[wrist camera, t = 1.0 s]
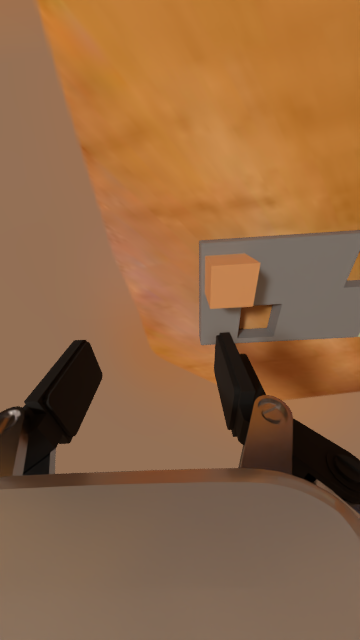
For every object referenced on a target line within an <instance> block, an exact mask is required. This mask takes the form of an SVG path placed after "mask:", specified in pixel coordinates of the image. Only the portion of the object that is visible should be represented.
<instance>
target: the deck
mask: <svg viewBox="0 0 360 640" xmlns="http://www.w3.org/2000/svg"><path fill="white" fill-rule="evenodd" d="M359 251H360V230H355V231H340V232H324V233H309V234H294V235H279V236H263V237H248V238H233V239H218V240H202V241H199V336H200V342H201V345H211V344H216V335H219V333H223V332H230V334H231V336H232V339H233V341H234V343H249V342H269V341H288V340H307V339H326V338H345V337H360V280H353V281H347V278H348V276H349V274H350V272H351V269H352V267H353V265H354V262H355V260H356V258H357V256H358V253H359ZM243 253H245V254H247V255H248V256H250V257H252V258H253V259H255V260H257V261H258V262H260V269H259V275H258V281H257V286H256V292H255V298H254V304H253V305H270V304H273V305H272V310H271V314H270V318H269V322H268V327H267V328H260V329H241V330H238V329H239V321H240V314H241V307H236V308H218V309H210V307H209V304H208V301H207V298H206V295H205V256H211V255H227V254H243Z"/></svg>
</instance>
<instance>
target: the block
mask: <svg viewBox="0 0 360 640" xmlns="http://www.w3.org/2000/svg"><path fill="white" fill-rule="evenodd" d="M259 269H260V262H258V261H257V260H255V259H253V258H252V257H250V256H248V255H247V254H245V253H243V254H227V255H211V256H205V295H206V298H207V301H208V304H209V307H210V309H218V308H236V307H253V304H254V298H255V292H256V286H257V281H258V275H259Z"/></svg>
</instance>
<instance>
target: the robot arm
mask: <svg viewBox="0 0 360 640" xmlns="http://www.w3.org/2000/svg"><path fill="white" fill-rule="evenodd" d="M214 372H215V377H216V381H217V386H218V390H219V394H220V399H221V403H222V407H223V411H224V416H225V420H226V425H227V428H228V430H232V434H233V437H238V441H239V442H240V443H241V444H243V449H242V454H241V458H240V463H239V467H238V468H228V469H227V468H226V469H181V470H150V471H121V472H97V473H96V472H94V473H71V474H55V454H56V447H57V445H58V443H59V444H66V443H70V442H71V440H72V437H73V436H75V435H76V434H77V432H78V430H79V428H80V425H81V423H82V421H83V419H84V417H85V415H86V412H87V410H88V408H89V406H90V404H91V401H92V399H93V397H94V395H95V393H96V391H97V388H98V386H99V384H100V382H101V380H102V372H101V369H100V367H99V365H98V362H97V360H96V357H95V355H94V352H93V350H92V347H91V345H90V343H89V342H87V341H86V340H75V341H73V343H72V344H71V345H70V346H69V348H68V349H67V350H66V351H65V352H64V354H63V355H62V356H61V357H60V358H59V360H58V361H57V362H56V363H55V365H54V366H53V367H52V368H51V369H50V371H49V372H48V373H47V375H46V376H45V377H44V378H43V379H42V381H41V382H40V383H39V384H38V385H37V387H36V388H35V389H34V390H33V392H32V393H31V394H30V395H29V396H28V398H27V399H26V400H25V401H24V402H25V404H26V405H25V406H24V407H23V408H22V407H18V406H17V407H12V408H8V409H6V410H4V411H2V412H0V640H360V460H359V459H358V458H356V457H355V456H353V455H352V454H351V453H349V452H348V451H346V450H345V449H343V448H341V447H340V446H338V445H336V444H335V443H333V442H331V441H330V440H328V439H326V438H325V437H323V436H321V435H320V434H318V433H316V432H315V431H313V430H311V429H310V428H308V427H307V426H305V425H303V424H302V423H300V422H298V421H297V420H295V419H293V416H292V412H291V410H290V408H289V407H288V406H287V405H286V404H285V403H284V402H283V401H282V400H280V399H278V398H276V397H274V396H270V395H266V394H265V392H264V390H263V388H262V386H261V383H260V381H259V379H258V377H257V375H256V373H255V371H254V369H253V367H252V365H251V363H250V361H249V359H248V357H247V355H246V354H239V352H238V350H237V348H236V345H235V343H234V341H233V339H232V336H231V334H230V332H223V333H219V335H216V345H215V362H214Z"/></svg>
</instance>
